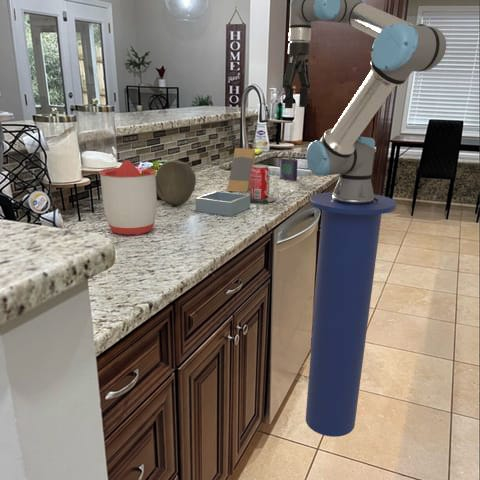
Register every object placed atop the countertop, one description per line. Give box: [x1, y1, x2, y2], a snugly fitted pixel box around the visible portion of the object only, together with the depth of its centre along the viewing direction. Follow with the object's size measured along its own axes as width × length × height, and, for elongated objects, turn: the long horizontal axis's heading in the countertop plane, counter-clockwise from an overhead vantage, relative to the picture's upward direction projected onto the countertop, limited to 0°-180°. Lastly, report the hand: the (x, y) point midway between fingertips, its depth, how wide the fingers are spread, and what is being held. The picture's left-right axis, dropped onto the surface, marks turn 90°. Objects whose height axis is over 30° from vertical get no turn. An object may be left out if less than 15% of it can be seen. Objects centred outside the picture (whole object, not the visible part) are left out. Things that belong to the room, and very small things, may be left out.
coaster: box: [250, 196, 275, 204], centre depth 186 cm, size 11×11×1 cm
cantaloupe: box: [155, 160, 197, 207], centre depth 174 cm, size 14×14×15 cm
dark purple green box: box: [279, 154, 299, 182], centre depth 225 cm, size 9×3×11 cm, turn 46°
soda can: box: [249, 164, 271, 201], centre depth 183 cm, size 7×7×12 cm
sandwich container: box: [226, 147, 256, 193], centre depth 203 cm, size 9×15×15 cm, turn 168°
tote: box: [194, 190, 251, 217], centre depth 170 cm, size 14×14×4 cm
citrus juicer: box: [98, 159, 158, 236], centre depth 143 cm, size 16×17×20 cm
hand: (295, 107), depth 183 cm, fingers open, 13 cm apart
